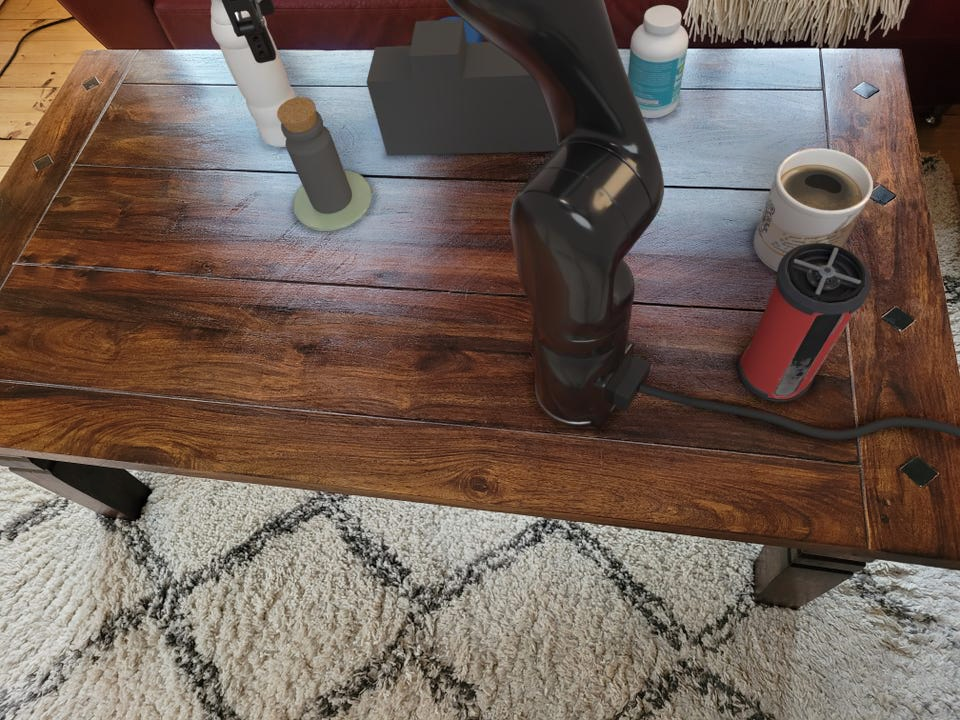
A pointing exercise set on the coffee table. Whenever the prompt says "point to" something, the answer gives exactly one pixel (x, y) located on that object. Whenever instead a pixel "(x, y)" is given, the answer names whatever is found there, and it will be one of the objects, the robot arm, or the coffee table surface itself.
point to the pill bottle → (658, 61)
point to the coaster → (338, 219)
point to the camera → (456, 95)
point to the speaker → (803, 319)
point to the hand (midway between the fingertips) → (266, 36)
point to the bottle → (314, 155)
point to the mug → (812, 203)
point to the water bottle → (253, 76)
